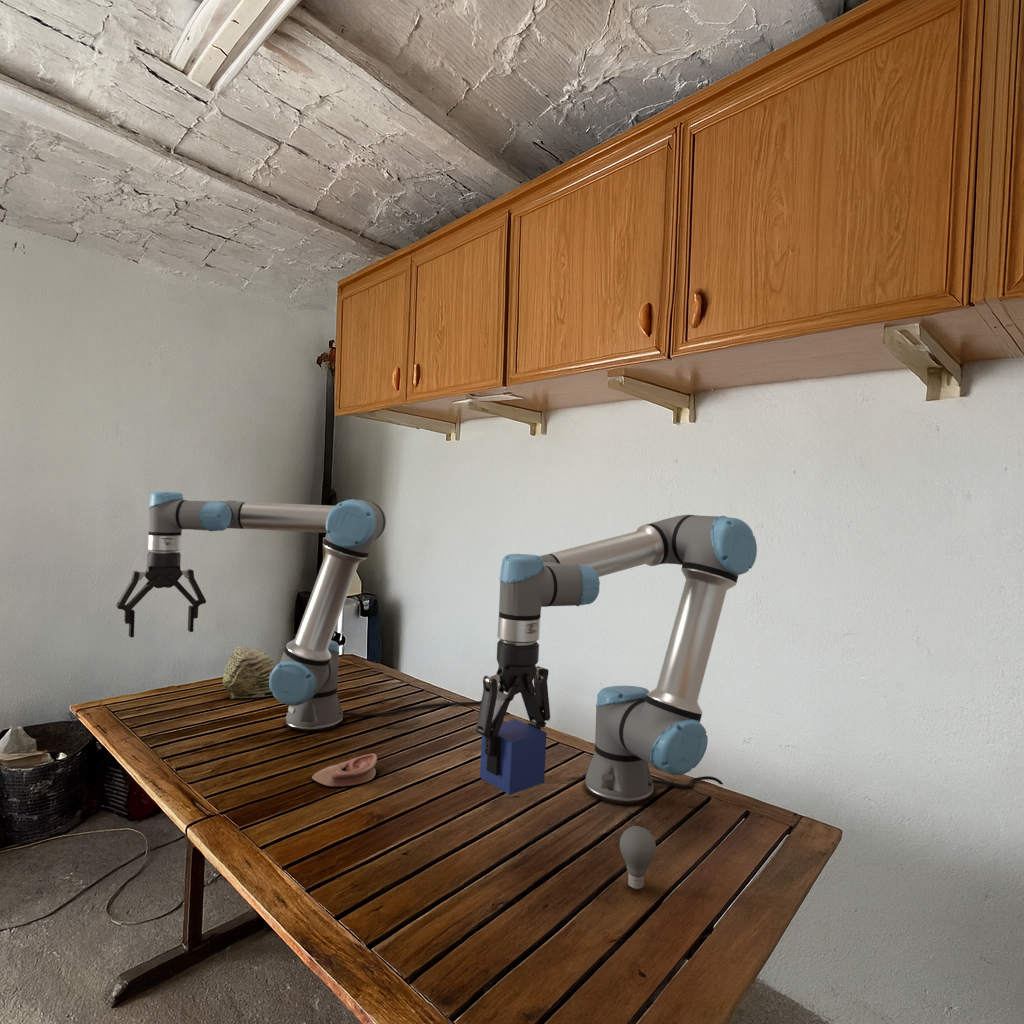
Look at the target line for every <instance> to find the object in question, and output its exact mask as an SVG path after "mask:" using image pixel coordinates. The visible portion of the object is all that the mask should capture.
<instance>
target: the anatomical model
mask: <svg viewBox="0 0 1024 1024" xmlns="http://www.w3.org/2000/svg"><path fill="white" fill-rule="evenodd" d="M377 761H378V756H377V754H376V753H368V754H363V755H360V756H357V757H354V758H351V759H348V760H346V761H343V762H340V763H337V764H332V765H329V766H326V767H324V768H322V769H320V770H318V771H317V772H315V773H314V774H313V775H312V776H311V779H312V780H313V781H315V782H317V783H318V784H321V785H323V786H327V787H333V788H334V787H347V786H356V785H361V784H364V783H367V782H369V781H372V780H373V779H374V778H375V776H376V773H377V770H376V768H375V767H376V764H377Z"/></svg>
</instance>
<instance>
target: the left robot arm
mask: <svg viewBox="0 0 1024 1024" xmlns="http://www.w3.org/2000/svg"><path fill="white" fill-rule="evenodd" d="M147 509H148V535H147V550H148V551H149V552H148V553H147V559H146V560H147V561H146V570H145V571H138V570H133V571H132V573H131V579H130V580H129V583H128V584H127V586H126V587H125V589H124V591H123V593H122V594H121V596H120V597H119V599H118V601H117V603H116V604H115V607H116V608H117V609H118V610H122V611H124V615H123V616H124V617H123V618H124V619H123V622H124V623H125V625H128V637H129V638H134V637H135V617H136V615H135V614H136V613H135V612H136V611H135V610H134V607H136V606H137V605H138V604H139V603H140V601H141V600H142V599H143V598H144V597H145V596H146V595H147V594H148V593H149V592H151V590H152V589H154V588H155V589H163V588H166V589H170V588H173V587H175V588H176V589H177V591H179V592H180V593H181V595H182V596H183V597H184V598H185V599H186V600H187V601H188V603H190V605H188V611H187V612H188V613H187V616H188V617H187V631H188V632H190V633H193V632H194V625H195V619H198V617H199V607H200V606H201V605H205V604H206V603H207V599H206V598H205V596H204V594H203V592H202V590H201V588H200V586H199V584H198V582H197V581H196V578H195V571H194V570H193V569H191V568H187V569H185V570H182V569H181V562H182V561H181V559H182V554H181V552H179V551H182V532H183V531H182V530H194V531H208V532H222V531H226V530H227V529H234V530H236V529H237V530H262V531H278V532H279V531H281V532H301V533H303V532H304V533H320V534H321V533H323V534H325V537H324V540H323V543H322V546H323V548H324V549H325V555H324V558H323V560H322V563H321V565H320V568H319V571H318V574H317V577H316V580H315V583H314V585H313V588H312V590H311V593H310V596H309V599H308V601H307V604H306V607H305V610H304V613H303V615H302V618H301V621H300V624H299V627H298V629H297V633H296V634H295V638H294V639H292V640H290V641H289V642H287V643H286V645H285V647H284V650H283V653H282V656H281V658H280V661H279V663H278V664H275V665H276V667H275V668H274V669H273V671H272V672H271V674H270V677H269V687H270V690H271V692H272V694H273V695H272V696H273V697H274V698H275V699H276V700H277V701H278V702H280V703H281V704H284V705H286V706H288V708H287V713H286V715H285V726H286V728H287V729H289V730H291V731H294V732H295V731H296V732H301V733H316V732H325V731H329V730H332V729H335V728H337V727H339V726H340V725H342V723H343V722H344V716H350V717H351V716H353V717H359V718H364V717H366V718H369V717H381V716H387V715H393V714H394V715H395V714H397V713H403V712H407V711H412V710H413V711H414V710H418V709H419V710H420V709H425V708H433V707H444V706H470V705H471V706H473V705H481V700H478V701H457V702H456V701H455V702H438V703H437V702H436V703H428V704H421V705H415V706H409V707H403V708H399V709H395V710H389V711H381V712H374V713H373V712H371V713H357V712H350V711H343V709H342V706H341V702H340V699H339V695H338V682H339V681H338V680H339V662H340V661H339V660H340V659H339V657H340V645H339V643H338V642H337V641H335V640H332V638H333V635H334V633H335V630H336V627H337V624H338V622H339V619H340V616H341V613H342V611H343V609H344V608H343V607H344V605H345V602H346V600H347V597H348V594H349V591H350V589H351V586H352V584H353V580H354V577H355V575H356V572H357V569H358V567H359V564H360V563H361V562H363V561H365V560H367V559H368V557H369V555H370V551H371V548H372V546H373V544H374V541H376V540H377V539H379V538H380V537H381V536H382V535H383V533H384V532H385V530H386V524H387V518H386V514H385V512H384V510H383V509H382V507H381V506H380V505H379V504H377V503H376V502H375V501H371V500H368V499H356V498H355V499H353V498H351V499H345V500H344V501H341V502H338V503H337V504H335V505H328V504H327V505H326V504H325V505H324V504H306V503H305V504H301V503H282V502H281V503H279V502H257V501H256V502H255V501H237V500H186V499H184V495H183V493H182V492H179V491H177V492H176V491H173V492H172V491H153V492H151V494H150V496H149V504H148V508H147ZM182 576H184V578H185V579H187V581H188V582H189V585H190V586H191V588H192V590H193V592H194V594H195V596H196V598H197V599H195V598H194V597H193V595H192V594H190V592H189V591H188V590H187V589H186V588H185V587H184V586H183V584H182V583H181V582H179V580H180V579H181V577H182ZM143 578H145V579H146V580H147V582H145V584H144V585H143V586H142V587H141V588H140V589H139V591H138V592H137V593H135V595H134V596H133V597H132V598H131V599H130V600H129V598H130V597H131V595H132V594H133V591H134V590H135V588H136V587H137V585H138V583H139V581H141V580H142V579H143Z"/></svg>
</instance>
